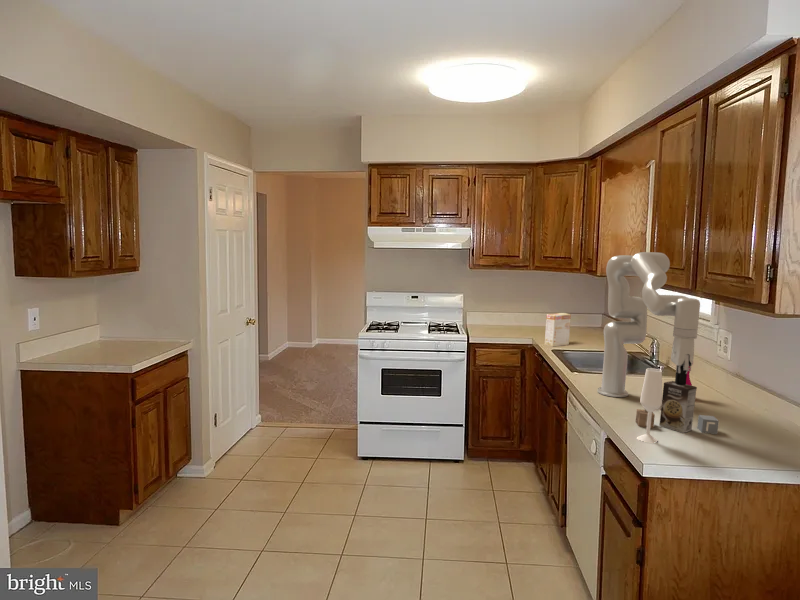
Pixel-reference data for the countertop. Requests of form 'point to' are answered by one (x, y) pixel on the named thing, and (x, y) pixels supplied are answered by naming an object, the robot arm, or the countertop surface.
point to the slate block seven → (708, 424)
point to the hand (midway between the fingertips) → (680, 383)
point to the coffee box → (677, 406)
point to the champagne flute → (651, 398)
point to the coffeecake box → (557, 329)
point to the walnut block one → (644, 418)
